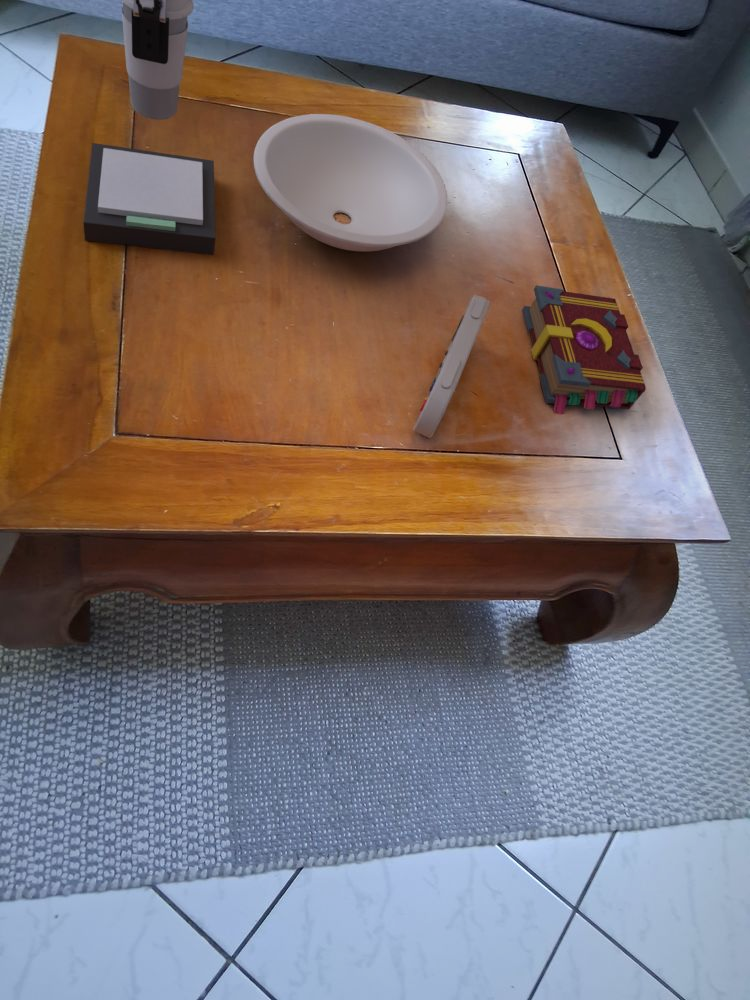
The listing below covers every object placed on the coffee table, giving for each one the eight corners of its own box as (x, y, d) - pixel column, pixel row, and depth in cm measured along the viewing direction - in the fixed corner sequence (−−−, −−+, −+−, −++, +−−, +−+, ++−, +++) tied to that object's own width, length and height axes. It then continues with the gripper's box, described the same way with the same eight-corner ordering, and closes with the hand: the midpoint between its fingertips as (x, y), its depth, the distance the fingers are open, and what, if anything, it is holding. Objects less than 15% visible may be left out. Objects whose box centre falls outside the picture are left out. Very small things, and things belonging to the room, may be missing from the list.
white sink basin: (216, 236, 90) (220, 188, 84) (287, 136, 104) (295, 89, 98) (403, 314, 91) (420, 272, 85) (450, 205, 105) (466, 163, 99)
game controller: (454, 330, 92) (479, 277, 85) (471, 338, 92) (497, 286, 85) (404, 443, 80) (428, 393, 74) (423, 452, 80) (449, 403, 74)
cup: (201, 116, 80) (210, -5, 70) (152, 134, 77) (154, 9, 67) (155, 79, 82) (157, -45, 72) (104, 96, 78) (99, -32, 68)
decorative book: (600, 322, 99) (619, 293, 95) (631, 420, 91) (654, 394, 87) (520, 311, 97) (537, 281, 92) (545, 412, 88) (565, 384, 84)
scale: (213, 255, 88) (216, 232, 85) (84, 240, 84) (82, 216, 81) (212, 178, 95) (214, 154, 92) (93, 161, 91) (91, 136, 89)
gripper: (120, -250, 63) (124, -17, 77) (89, -168, 53) (101, 79, 68) (213, -221, 64) (200, 2, 79) (199, -137, 55) (187, 97, 70)
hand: (154, 36), depth 73 cm, fingers closed on cup, 7 cm apart
